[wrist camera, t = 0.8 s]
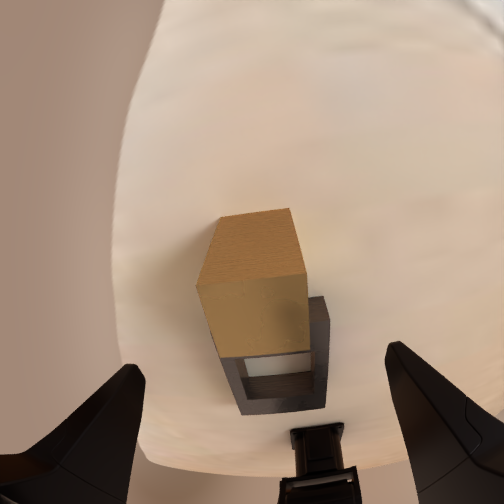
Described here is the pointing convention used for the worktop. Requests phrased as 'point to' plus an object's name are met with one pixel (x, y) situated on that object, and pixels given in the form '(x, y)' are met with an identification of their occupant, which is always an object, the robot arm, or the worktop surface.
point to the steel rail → (286, 385)
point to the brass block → (256, 286)
